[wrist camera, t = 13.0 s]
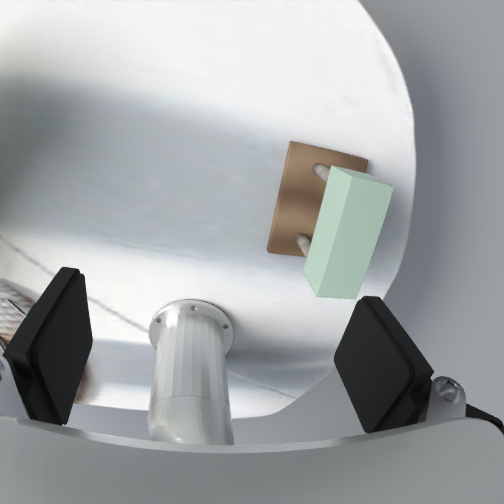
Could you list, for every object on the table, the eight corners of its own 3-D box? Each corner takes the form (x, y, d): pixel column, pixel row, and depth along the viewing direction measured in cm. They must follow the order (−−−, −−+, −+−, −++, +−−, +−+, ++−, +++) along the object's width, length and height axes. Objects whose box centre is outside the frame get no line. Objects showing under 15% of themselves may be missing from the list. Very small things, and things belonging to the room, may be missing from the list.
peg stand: (336, 256, 43) (356, 283, 37) (266, 248, 41) (277, 277, 35) (363, 158, 37) (392, 171, 31) (289, 141, 35) (307, 149, 29)
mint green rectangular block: (369, 174, 31) (393, 187, 26) (339, 274, 36) (355, 299, 31) (331, 165, 30) (352, 176, 25) (303, 271, 35) (316, 296, 30)
